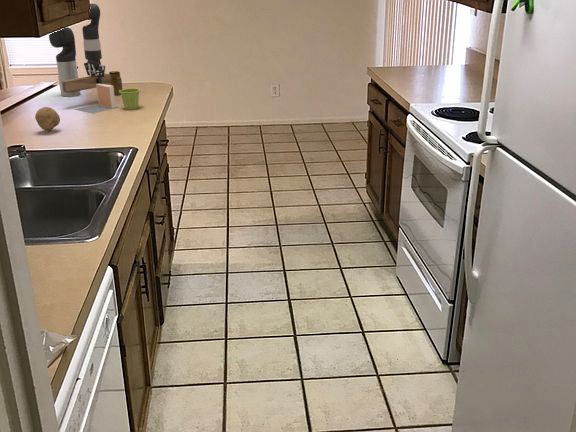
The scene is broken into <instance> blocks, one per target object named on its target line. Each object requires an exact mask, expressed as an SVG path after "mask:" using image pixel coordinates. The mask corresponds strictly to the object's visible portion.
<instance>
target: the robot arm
mask: <svg viewBox="0 0 576 432" xmlns="http://www.w3.org/2000/svg"><path fill="white" fill-rule="evenodd" d="M89 4H90V7H91V9H90V19H88V20H87V21H90V23H89V24H86V25H84V26H82V36H83V38H82V39H83V51H84V52H83V53H84V58H85V60H87V62H84V63H83V66H84V69H85V71H86V74H87V76H94V75H96V78H97V79H96V81H97V84H102V82H101V78H102V77H104V74H105V73H106V66H105V65H103V64H102V62H101V60H102V58H103V57H102V56H103V55H102V46H101V41H100V34H99V33H100V32H99V25H100V19H101V9H100V7H99V5H98V4H96V3H89ZM66 27H67V28H64V29H62V30H60V31H57V32H54V33H52V34H50V35H49V34H48V40H49V44H50V45H51V46H52V47H53V48H57V49H58V48H62V50H61V51H60V52H59V53H58V54H56V56H55V61H56V66H57V73H58V76H57V77H58V85H59V90H60V95H61V96H63V97H75V96H76V97H77V96H81V93H82V92H81V91H76V92H71V93H66V92H63V85H62V81H65V80H71V79H77V78H79V72H78V66H77V59H76V56H77V50H76V41H75V40H76V39H75V34H74V32H73V30H72V29H71V28H70V27H69V26H66ZM101 74H102V75H101Z"/></svg>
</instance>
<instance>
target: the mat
mask: <svg viewBox="0 0 576 432" xmlns="http://www.w3.org/2000/svg"><path fill="white" fill-rule="evenodd" d="M119 108H120V106H116V108H109V107H104V106H99V103H97V104H94V105H93V104H91V105H87V106H84V107H79V108H74V111H79V112H84V113H88V114H97V113H102V112H105V111H111V110H115V109H119Z"/></svg>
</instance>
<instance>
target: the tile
mask: <svg viewBox="0 0 576 432" xmlns="http://www.w3.org/2000/svg"><path fill="white" fill-rule="evenodd" d="M96 87H97V88H96V92H97V101H98V104H99V106H104V107H109V108H115V109H117V108H116V96H114V88H113V86H111V85H105V84H96Z"/></svg>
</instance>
